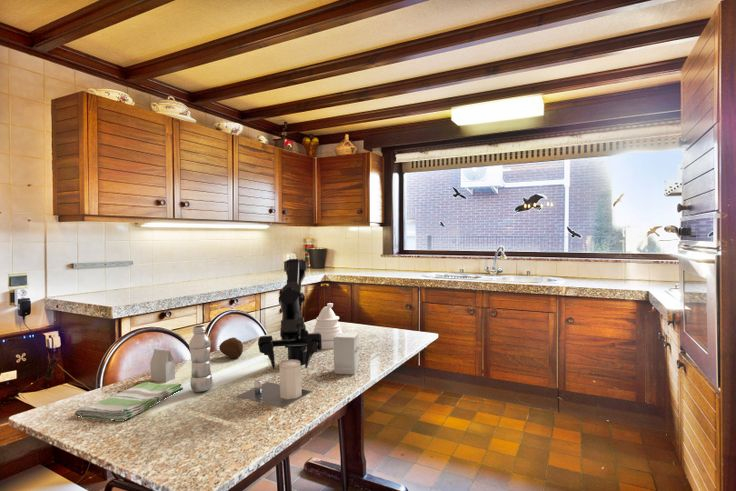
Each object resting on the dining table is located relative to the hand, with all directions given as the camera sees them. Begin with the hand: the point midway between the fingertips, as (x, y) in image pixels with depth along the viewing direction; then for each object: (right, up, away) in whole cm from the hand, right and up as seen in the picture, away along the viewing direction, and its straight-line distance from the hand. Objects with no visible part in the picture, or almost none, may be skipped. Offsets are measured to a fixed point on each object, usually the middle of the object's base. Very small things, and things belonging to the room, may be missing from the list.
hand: (290, 368), depth 119 cm
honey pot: (+5, -7, +58) cm, 58 cm away
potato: (-31, -9, +43) cm, 54 cm away
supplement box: (+15, -8, +23) cm, 29 cm away
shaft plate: (-5, -9, +2) cm, 10 cm away
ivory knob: (0, -8, +1) cm, 8 cm away
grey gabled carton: (-47, -10, +20) cm, 52 cm away
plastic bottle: (-29, -9, +8) cm, 32 cm away
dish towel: (-46, -11, +1) cm, 47 cm away
